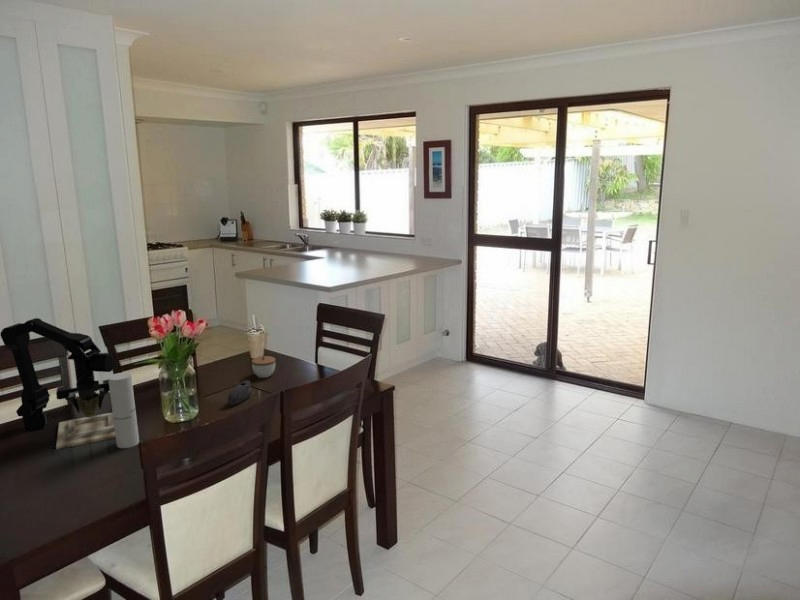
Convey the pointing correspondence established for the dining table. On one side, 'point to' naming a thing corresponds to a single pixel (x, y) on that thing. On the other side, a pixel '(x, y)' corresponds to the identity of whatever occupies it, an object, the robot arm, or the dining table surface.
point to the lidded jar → (263, 366)
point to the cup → (88, 404)
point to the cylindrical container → (123, 410)
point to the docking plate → (85, 430)
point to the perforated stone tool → (239, 393)
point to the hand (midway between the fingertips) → (89, 410)
